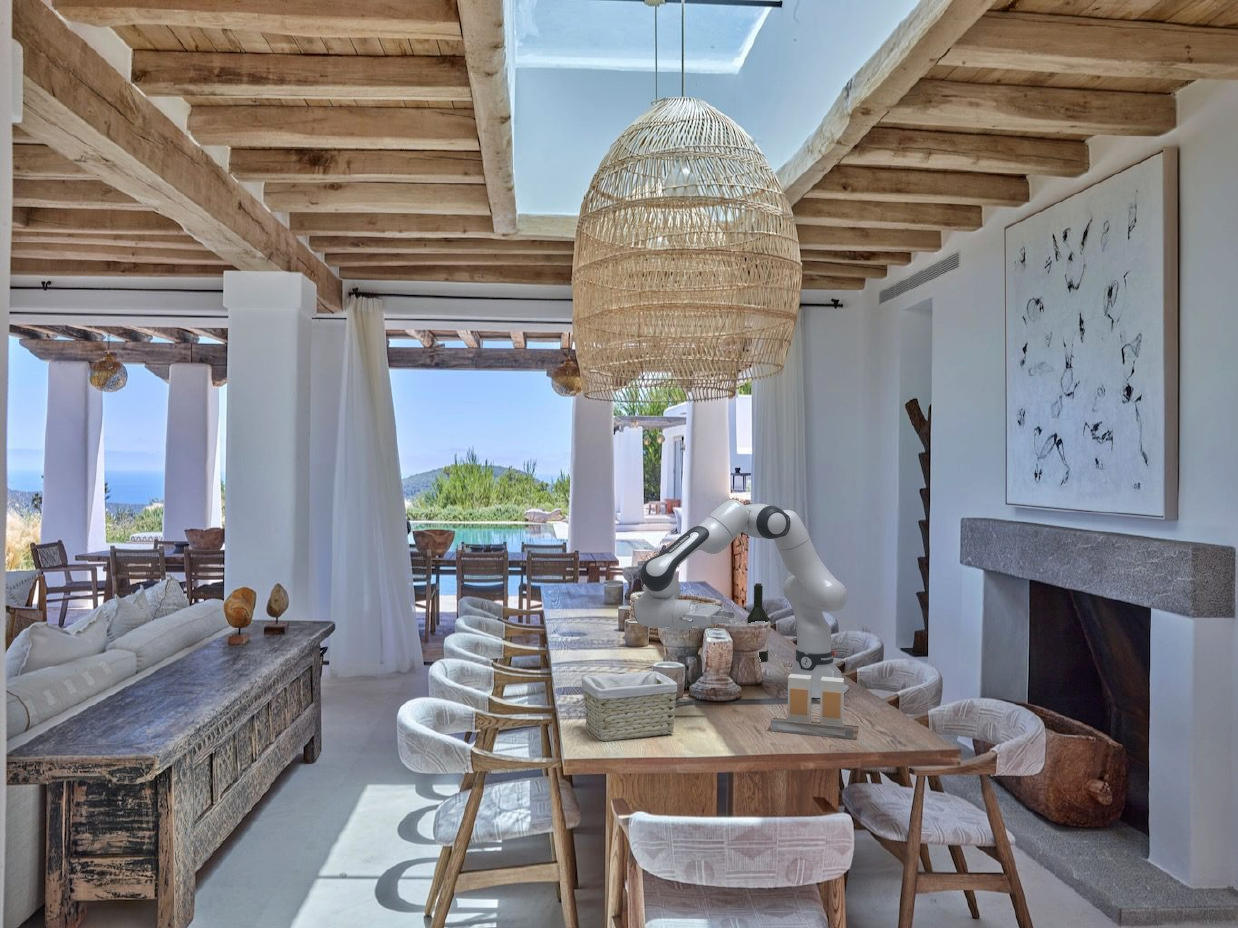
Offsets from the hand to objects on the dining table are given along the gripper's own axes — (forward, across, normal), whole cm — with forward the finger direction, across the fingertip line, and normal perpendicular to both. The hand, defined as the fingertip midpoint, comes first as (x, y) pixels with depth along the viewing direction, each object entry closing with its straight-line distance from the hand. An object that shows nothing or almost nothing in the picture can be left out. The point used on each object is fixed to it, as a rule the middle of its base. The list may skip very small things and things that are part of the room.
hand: (731, 617), depth 257 cm
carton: (+30, -5, +28) cm, 41 cm away
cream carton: (+21, -5, +28) cm, 36 cm away
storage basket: (-25, -22, +30) cm, 45 cm away
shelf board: (+25, -6, +30) cm, 39 cm away
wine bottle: (-5, +88, +30) cm, 93 cm away
